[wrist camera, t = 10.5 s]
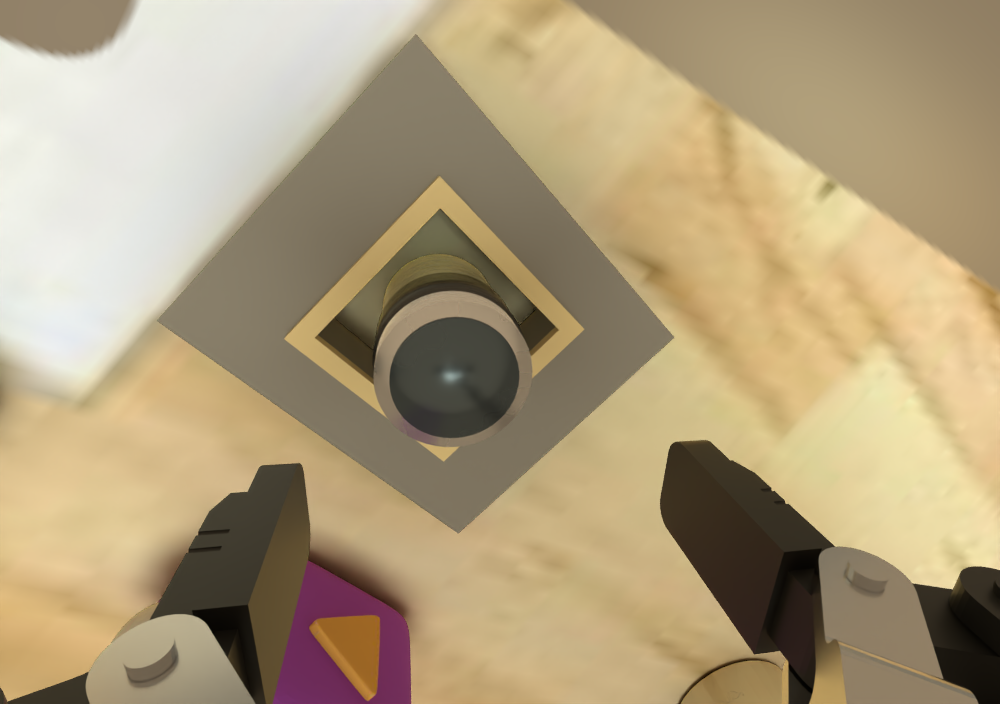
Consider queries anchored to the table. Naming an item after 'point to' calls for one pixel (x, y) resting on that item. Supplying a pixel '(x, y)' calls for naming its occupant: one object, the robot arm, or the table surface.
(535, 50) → the table surface
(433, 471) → the mount plate
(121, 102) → the table surface
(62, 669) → the table surface
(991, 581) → the robot arm
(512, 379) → the lens
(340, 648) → the toy camera
